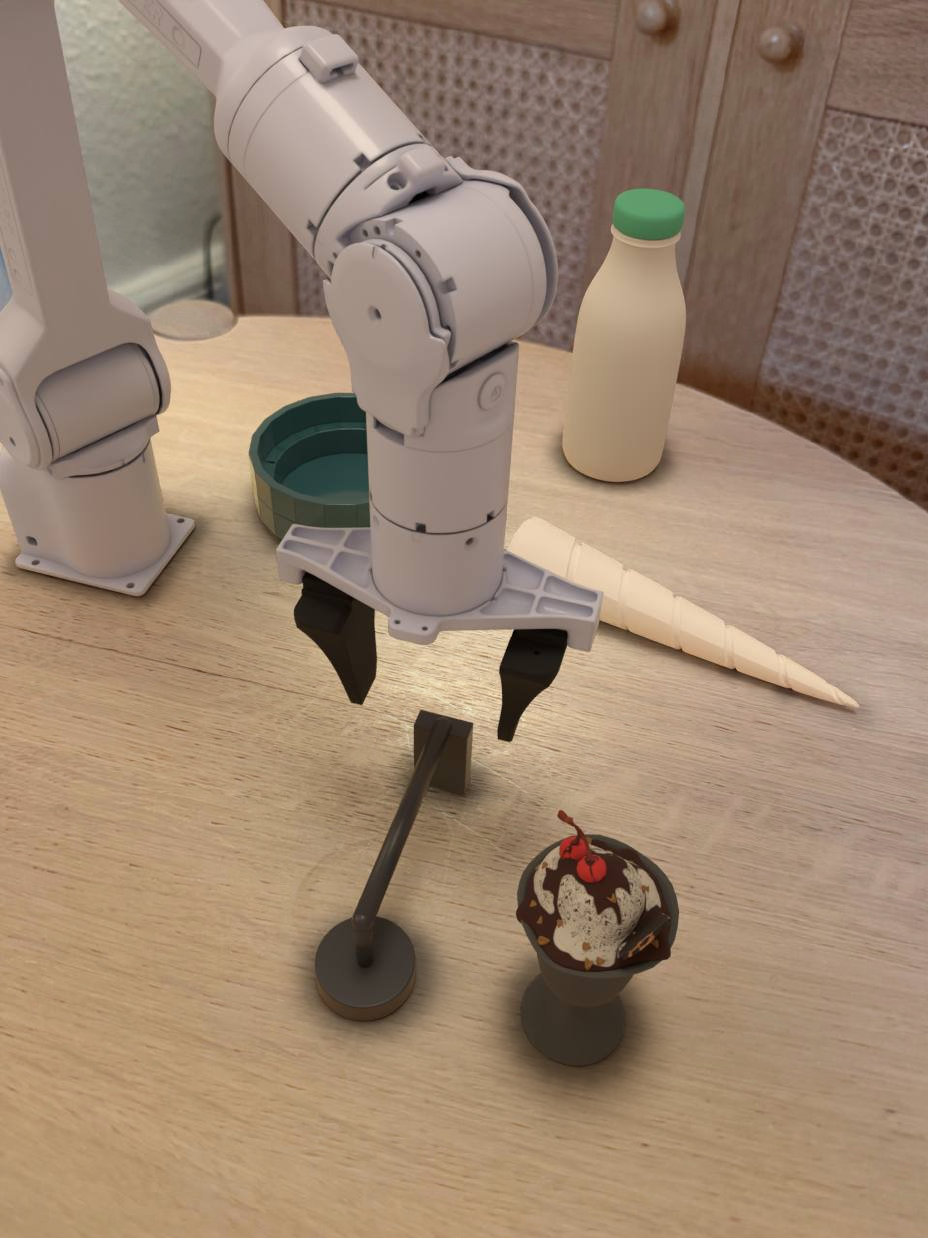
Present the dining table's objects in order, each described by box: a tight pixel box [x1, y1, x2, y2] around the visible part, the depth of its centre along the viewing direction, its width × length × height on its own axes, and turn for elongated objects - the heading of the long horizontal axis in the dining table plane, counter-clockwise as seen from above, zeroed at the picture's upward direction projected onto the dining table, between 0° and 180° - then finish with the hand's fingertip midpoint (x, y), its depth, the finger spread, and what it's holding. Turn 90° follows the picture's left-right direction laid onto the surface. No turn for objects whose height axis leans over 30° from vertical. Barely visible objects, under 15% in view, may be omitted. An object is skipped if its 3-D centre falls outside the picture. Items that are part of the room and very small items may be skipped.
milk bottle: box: [561, 188, 687, 483], centre depth 77 cm, size 8×8×20 cm
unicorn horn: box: [506, 516, 861, 708], centre depth 67 cm, size 5×24×5 cm, turn 57°
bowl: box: [248, 392, 370, 541], centre depth 77 cm, size 13×13×5 cm
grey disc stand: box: [314, 709, 474, 1022], centre depth 54 cm, size 15×5×6 cm, turn 163°
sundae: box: [515, 809, 680, 1066], centre depth 46 cm, size 7×7×15 cm
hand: (435, 707), depth 54 cm, fingers open, 7 cm apart
